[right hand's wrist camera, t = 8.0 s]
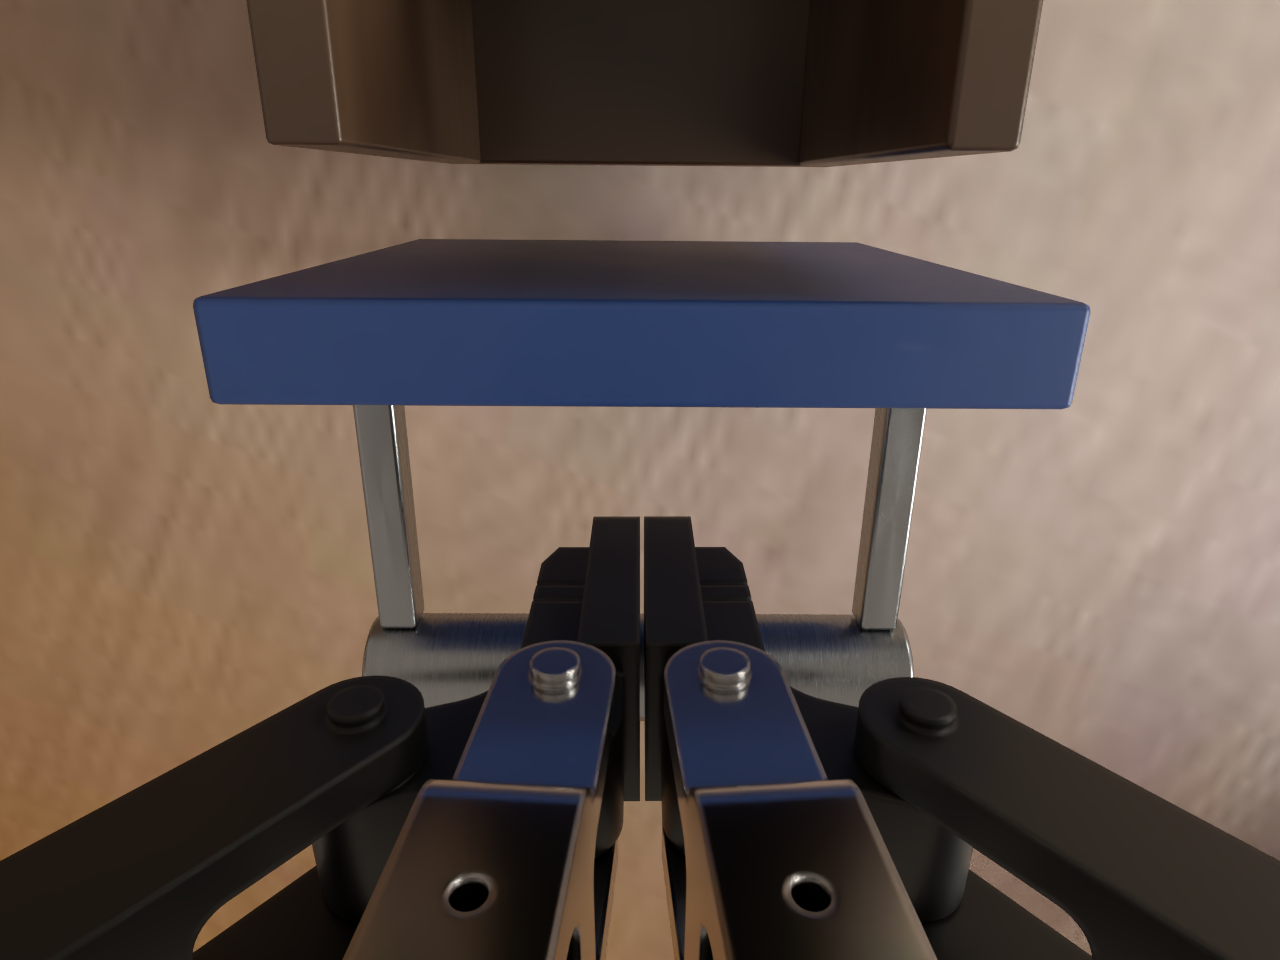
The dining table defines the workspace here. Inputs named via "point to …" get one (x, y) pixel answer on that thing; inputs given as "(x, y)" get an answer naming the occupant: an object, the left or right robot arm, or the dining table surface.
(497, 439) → the dining table surface
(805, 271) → the drawer
